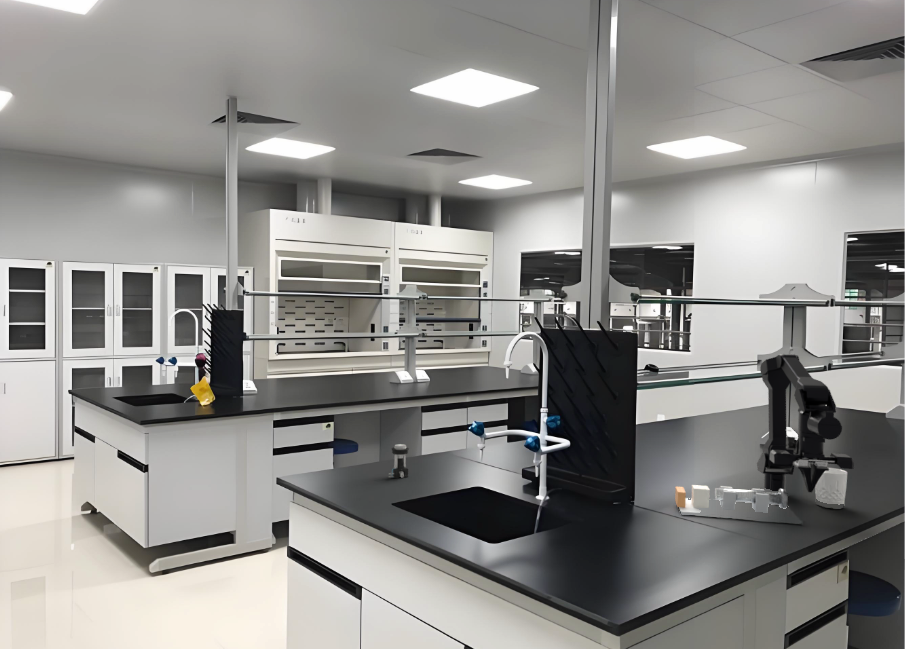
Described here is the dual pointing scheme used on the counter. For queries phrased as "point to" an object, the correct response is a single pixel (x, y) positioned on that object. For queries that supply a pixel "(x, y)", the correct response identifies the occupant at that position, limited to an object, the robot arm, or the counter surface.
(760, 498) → the bearing rail
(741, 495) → the shaft
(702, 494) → the block
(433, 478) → the counter surface
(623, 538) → the counter surface
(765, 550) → the counter surface
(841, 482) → the white cup
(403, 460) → the push button
